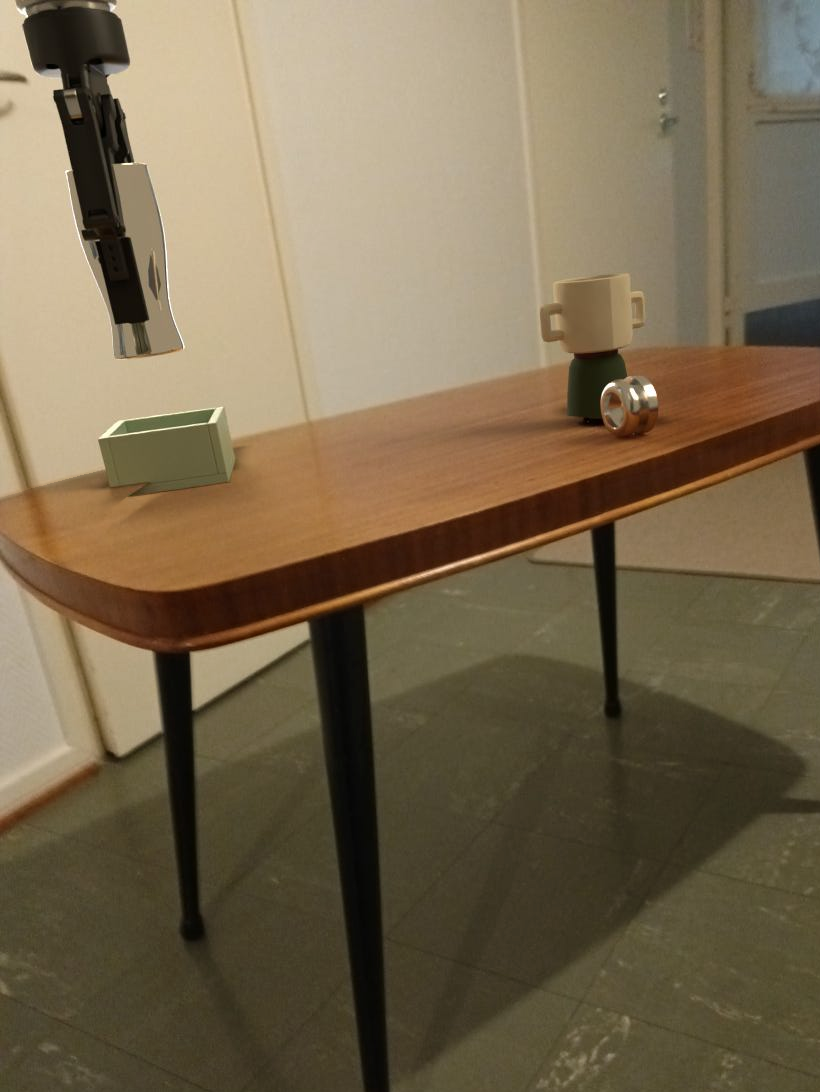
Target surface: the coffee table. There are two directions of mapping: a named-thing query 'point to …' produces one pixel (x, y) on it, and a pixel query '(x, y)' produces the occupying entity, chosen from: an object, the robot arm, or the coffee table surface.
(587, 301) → the character mug
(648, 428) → the metal grooved wheel
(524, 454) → the coffee table surface
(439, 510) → the coffee table surface
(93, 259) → the beer glass
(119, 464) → the green storage bin
